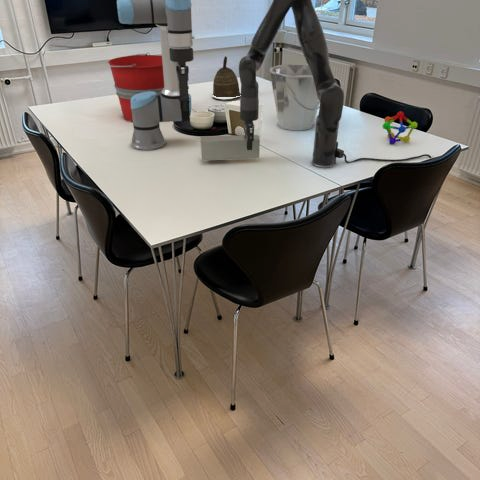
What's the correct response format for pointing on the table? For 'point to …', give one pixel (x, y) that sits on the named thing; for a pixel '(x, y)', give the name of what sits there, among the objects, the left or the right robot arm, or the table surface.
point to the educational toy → (398, 128)
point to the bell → (225, 82)
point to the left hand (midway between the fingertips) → (185, 114)
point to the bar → (228, 147)
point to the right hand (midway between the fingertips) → (248, 147)
